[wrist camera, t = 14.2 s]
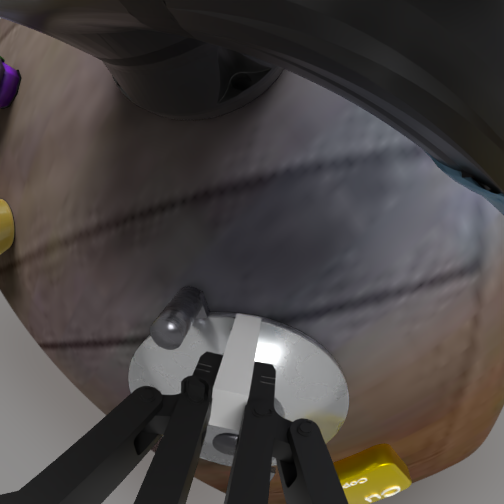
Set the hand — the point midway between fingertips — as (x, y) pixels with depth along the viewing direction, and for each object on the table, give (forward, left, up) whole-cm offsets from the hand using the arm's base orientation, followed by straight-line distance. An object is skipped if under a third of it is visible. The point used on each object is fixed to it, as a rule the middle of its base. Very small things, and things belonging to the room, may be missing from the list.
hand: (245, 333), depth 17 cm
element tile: (+30, +22, -8) cm, 38 cm away
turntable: (+13, 0, -7) cm, 14 cm away
